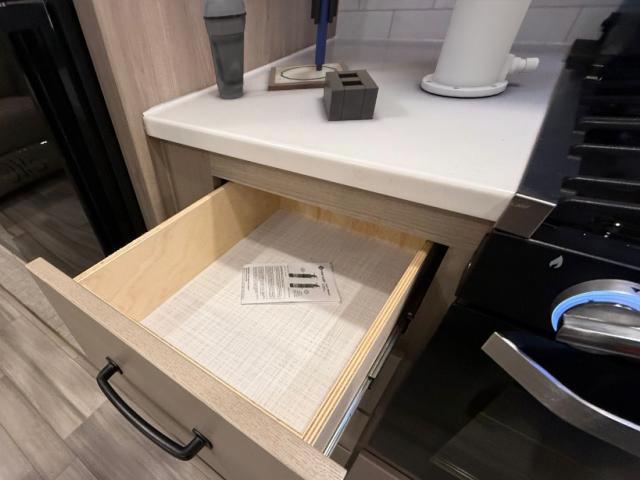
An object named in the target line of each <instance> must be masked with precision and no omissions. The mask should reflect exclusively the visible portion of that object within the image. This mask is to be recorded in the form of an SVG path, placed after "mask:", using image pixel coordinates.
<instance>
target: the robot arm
mask: <svg viewBox="0 0 640 480" xmlns="http://www.w3.org/2000/svg"><path fill="white" fill-rule="evenodd" d="M531 3H532V0H456V1H455V4H454V7H453V10H452V14H451V17H450V21H449V24H448V26H447V30H446V33H445V37H444V40H443V43H442V48H441V49H440V53H439V56H438V59H437V63H436V66H435V70H434V72H433V73H430V74H427V75H425V76H424V77H422V80H421V83H420V87H421V88H422V89H423V90H424V91H425V92H428V93H431V94H435V95H439V96H444V97H453V98H481V97H489V96H494V95H498V94H501V93H503V91H505V90H506V88H507V86H508V84H509V81H508V78H507V77H511V76H512V75H513V74H515V73H516V74H517V73H518V74H526V73H527V74H530V73H534V72H535V71H536V69H537V68H538V66H539V63H540V58H539V57H525V58H522V57H521V56H516V55H515V54H513V53H511V50H512V48H513V45H514V42H515V41H516V38H517V35H518V34H519V31H520V28H521V26H522V24H523V21H524V19H525V17H526V14H527V12H528V9H529V7H530V6H531ZM338 6H339V0H330V7H329V18H328V24H333V22H334V21H333V20H334V18H335V17H337V14H338ZM319 10H320V0H311V6H310V20H313V25H317V24H318V23H319Z"/></svg>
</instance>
